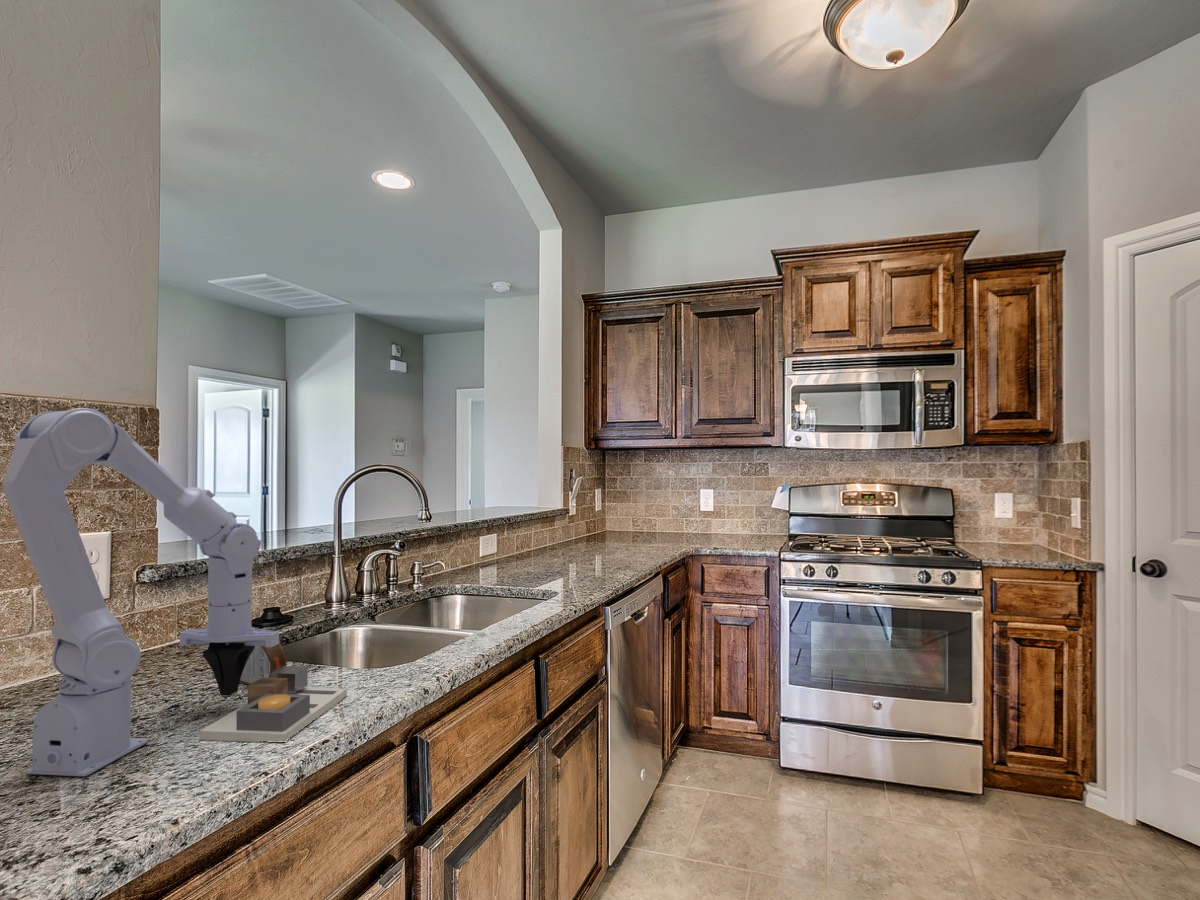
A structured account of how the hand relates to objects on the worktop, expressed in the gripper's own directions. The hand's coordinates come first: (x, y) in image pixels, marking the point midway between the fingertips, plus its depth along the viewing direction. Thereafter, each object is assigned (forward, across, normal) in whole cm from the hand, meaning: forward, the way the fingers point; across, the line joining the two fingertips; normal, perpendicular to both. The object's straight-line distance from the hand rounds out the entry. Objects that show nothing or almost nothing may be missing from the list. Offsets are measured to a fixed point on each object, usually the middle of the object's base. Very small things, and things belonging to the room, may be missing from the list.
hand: (229, 693), depth 95 cm
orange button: (+1, -11, +6) cm, 12 cm away
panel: (+3, -9, +1) cm, 9 cm away
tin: (+3, +4, -12) cm, 13 cm away
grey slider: (+1, -6, -6) cm, 8 cm away
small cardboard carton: (+1, -6, 0) cm, 6 cm away
